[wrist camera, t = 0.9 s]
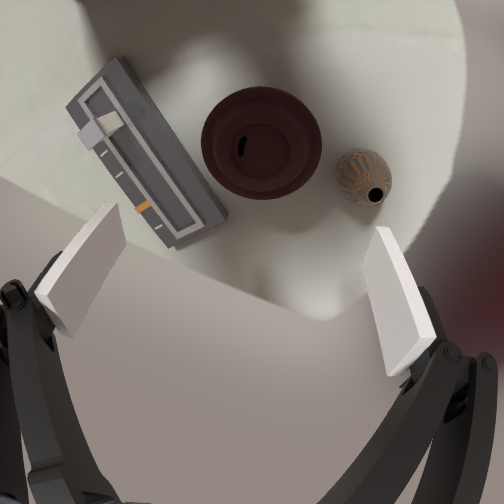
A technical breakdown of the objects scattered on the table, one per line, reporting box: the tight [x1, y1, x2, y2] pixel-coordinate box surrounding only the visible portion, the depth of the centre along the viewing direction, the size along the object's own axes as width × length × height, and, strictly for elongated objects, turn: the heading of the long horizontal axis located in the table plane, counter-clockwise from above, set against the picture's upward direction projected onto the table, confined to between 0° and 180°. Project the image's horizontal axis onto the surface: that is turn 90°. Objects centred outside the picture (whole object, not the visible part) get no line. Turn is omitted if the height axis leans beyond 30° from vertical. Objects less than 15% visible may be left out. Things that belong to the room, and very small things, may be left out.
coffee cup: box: [201, 87, 322, 200], centre depth 26 cm, size 10×10×15 cm
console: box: [65, 56, 229, 248], centre depth 35 cm, size 28×11×3 cm, turn 29°
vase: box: [336, 149, 392, 207], centre depth 32 cm, size 7×7×9 cm
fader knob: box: [77, 111, 124, 151], centre depth 29 cm, size 3×3×6 cm
